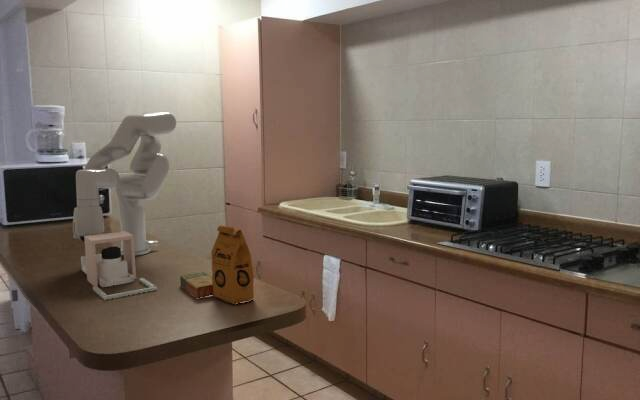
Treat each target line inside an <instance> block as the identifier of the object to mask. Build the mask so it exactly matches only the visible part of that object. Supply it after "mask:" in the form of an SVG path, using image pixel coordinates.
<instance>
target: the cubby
mask: <svg viewBox="0 0 640 400" xmlns="http://www.w3.org/2000/svg"><path fill="white" fill-rule="evenodd" d="M84 239H85V242H84V253H85V256H86V268H87V274H86V278H87V279H86V281H87V282H88V283H89V284H90V285H92V287H94V286H97V287H99V284H98V281H97V266H96V245H98V244H105V243H112V242H113V243H114V242H121V241H122V240H123V252H124V256H123V261H127V266H128V272H129V273H130V274H132V275H133V276H134V281H135V279H136V280H137V268H136V267H137V266H136V256H135V249H134V235H132V234H130V233H128V232H126V231H123V232H121V231H115V232H108V233H104V234H98V235H88V236H84Z"/></svg>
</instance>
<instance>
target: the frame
mask: <svg viewBox="0 0 640 400" xmlns="http://www.w3.org/2000/svg"><path fill="white" fill-rule="evenodd" d="M139 282H140V283H141V282H142V283H141V284H142V285H144V284H145V285H144V286H145V287H144V288H140V289H134V290H129V291H125V292H119V293H113V294H108V295H107V294H106V292H104V291H103V290H102V289H101V288H99V286H92V291H93V292H95V293H96V294H97V295H98V296H99V297H100V298H101V299H103V301H108V300H112V298H113V299H118V298H123V296H124V297H129V296H133V294H134V295H138V293H140V294H144V293H143V292H145V293H149V292H148V291H150V292H155V291H158V286H156V285H155V284H153V283H152V282H150V281H149V280H147V279H145V278H144V277H140V278H139ZM147 286H148V287H147ZM154 290H155V291H154ZM128 295H129V296H128ZM107 299H108V300H107Z"/></svg>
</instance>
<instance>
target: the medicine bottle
mask: <svg viewBox="0 0 640 400" xmlns="http://www.w3.org/2000/svg"><path fill="white" fill-rule="evenodd" d="M121 249H122V248H121V247H120V246H119V247H118V246H106V247H104V248H102V249H101V251H100V254H102V262H98V263H96V266H97V277H101V278H102V279H104V280H105V281H113V280H117V279H122V278H128V266H127V261H124V259H122V255H121Z"/></svg>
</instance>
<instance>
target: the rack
mask: <svg viewBox="0 0 640 400" xmlns="http://www.w3.org/2000/svg"><path fill="white" fill-rule="evenodd" d="M80 262H81V271H82V272H84V274H86V275H87V268H86V255H83V256H80ZM98 262H102V254H101V253H97V254H96V263H98ZM97 281H98V286H100V287H101V288H107V287H114V286H119V285H124V284H130V283H134V282H135V280H134V276H133V275H132V274H130V273H129V272H128V278H122V279H117V280H113V281H105V280H104V279H102V278H101V277H97ZM113 285H114V286H113Z"/></svg>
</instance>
